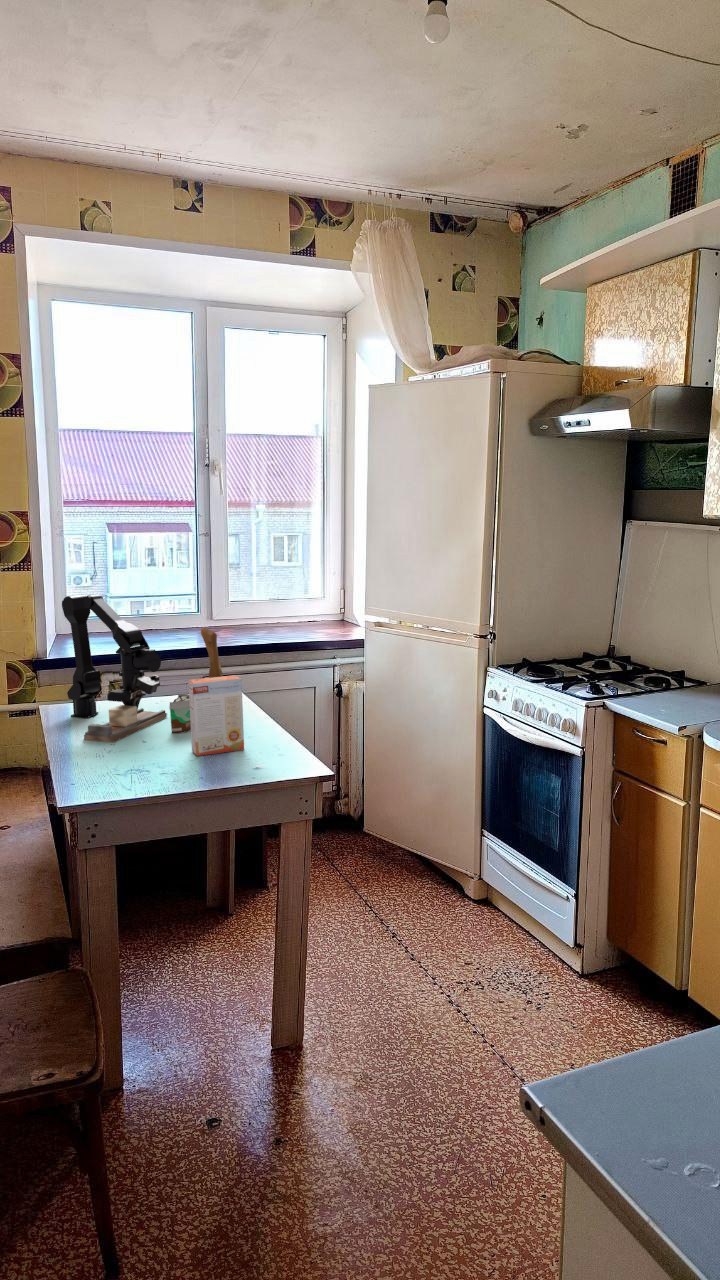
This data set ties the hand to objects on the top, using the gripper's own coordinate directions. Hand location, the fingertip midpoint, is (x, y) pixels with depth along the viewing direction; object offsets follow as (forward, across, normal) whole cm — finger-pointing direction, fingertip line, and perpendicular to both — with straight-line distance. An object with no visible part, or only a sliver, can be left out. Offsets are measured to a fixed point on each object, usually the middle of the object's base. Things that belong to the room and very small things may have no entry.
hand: (133, 717), depth 271 cm
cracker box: (+3, -17, -38) cm, 42 cm away
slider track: (+2, -4, 0) cm, 4 cm away
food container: (+3, 0, -18) cm, 18 cm away
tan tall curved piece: (+3, +23, -17) cm, 29 cm away
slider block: (+1, -6, 0) cm, 6 cm away
